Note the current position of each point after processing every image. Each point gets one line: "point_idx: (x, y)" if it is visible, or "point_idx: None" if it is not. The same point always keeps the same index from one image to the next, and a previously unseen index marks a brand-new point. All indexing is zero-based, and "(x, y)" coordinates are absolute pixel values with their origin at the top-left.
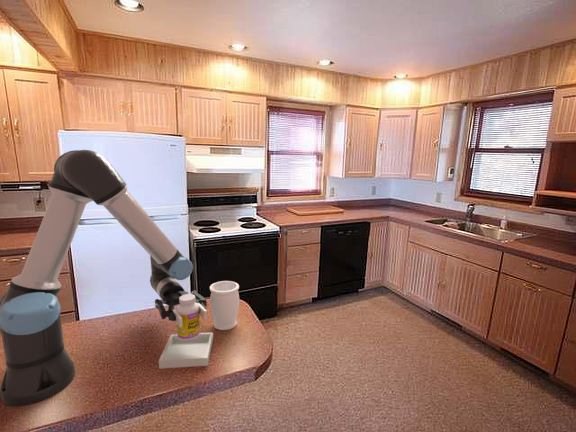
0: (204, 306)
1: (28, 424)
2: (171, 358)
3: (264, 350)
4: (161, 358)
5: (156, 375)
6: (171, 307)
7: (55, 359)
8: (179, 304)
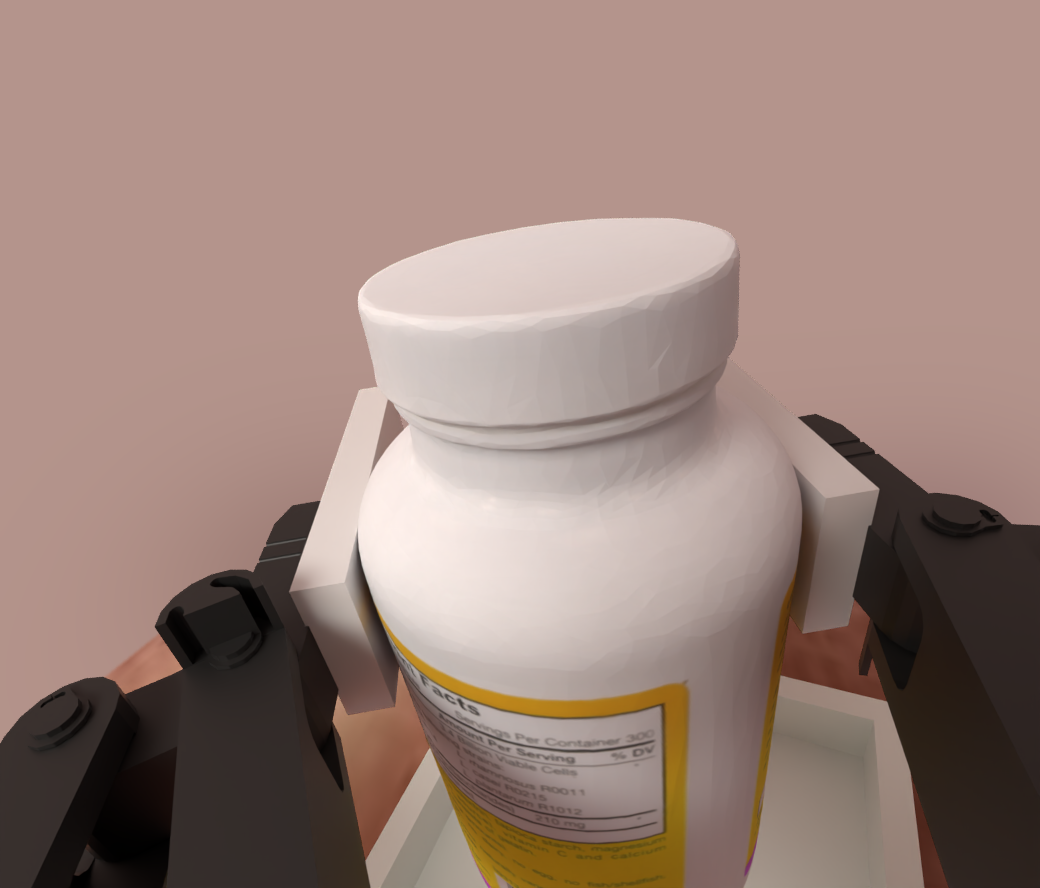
0: (281, 536)
1: None
2: (782, 695)
3: (152, 657)
4: (886, 729)
5: (877, 681)
6: (978, 607)
7: None
8: (738, 473)
